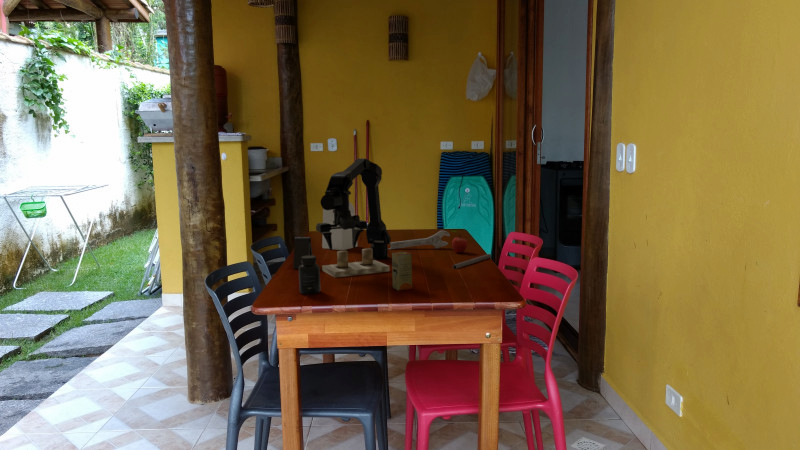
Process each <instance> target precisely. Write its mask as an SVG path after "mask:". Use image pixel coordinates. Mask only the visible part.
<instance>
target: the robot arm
mask: <svg viewBox="0 0 800 450" xmlns="http://www.w3.org/2000/svg"><path fill="white" fill-rule="evenodd" d="M382 175H383V170H382V168H381V167H380V165H378V164H377V163H375V162H372V161H370V159H369V158H357V159H355V160H354V162H353V163H352V164H350V165H349V166H348V167H346V169H344V170H343V171H338V172H335V173H333V174H332V175H331V176H330V178H329V181H328V184H327V187H326V189H325V192H324V195H323V196H322V197H321V198H320V206H321V207H322V210H323V209H325V210H332V209H334V210H333V213H334V221H333V223H334V224H329V223H323V222H317V223H316V226H315V231H316V232H319V233H320V234H321V235H324V237H325V239H326V241H327V243H328V246H329V248H330V249H329V250H330V251H333V249H332V240H331V235H332V232H330V230H331V229H344V230H347V229H352V244H353V248H352V249H355V248H356V247H355V246H356V243H357V244H358V240H359V239H358V238H359V237H360V235H361V233H362V232H364V231H365V230H366V233H365V234H366V241H367V244H370V247H369V248H371V249H373V260H381V259H383V260H384V259H390V256H389V255H388V254H389V253H388V252H389V251H388V249H387V248H388V245H390V243H391V239H392V237H391V236H390V234H389V232H388V230H387V225H386V224H385V222H384V221H383V219H382V212H381V211H382V210H381V202H380V200H381V198H380V189H379V185H380V184H381V181H382ZM358 176H360V177H361V182H362V183H363V185H364V186H365V187H366V195H367V196H366V197H367V205H368V215H369V217H368V218H369V221H368V222H367V221H365V220H363V219H361V218H360V215H359V214H355V215H354V216H351V212H350V210H349V202H350V196H351V194H352V192H351V191H350V188H351V187H352V186H353V184H354V180H355V179H356V178H358Z"/></svg>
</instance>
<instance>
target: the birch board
mask: <svg viewBox="0 0 800 450" xmlns="http://www.w3.org/2000/svg"><path fill="white" fill-rule="evenodd" d="M337 266H338V263H334V264H326V265H321V267H322V268H321V270H322V272H324V273H325V274H328V275H330V276H331V277H332V278H333V277H334V278H344V277H345V278H346V277H352V276H361V275H370V274H377V273H386V272H390V265H387V264H386V263H383V262H380V261H378V260H377V259H373V266H362V260H361V261H354V262H352V261H351V262H348V268H346V269H338V267H337Z"/></svg>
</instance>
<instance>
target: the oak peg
mask: <svg viewBox="0 0 800 450" xmlns="http://www.w3.org/2000/svg"><path fill="white" fill-rule="evenodd" d="M336 256H337V262H336V263H337V264H338V266H337V267H338V269H346V268H348V263H349V251H347V250H337V251H336Z"/></svg>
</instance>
